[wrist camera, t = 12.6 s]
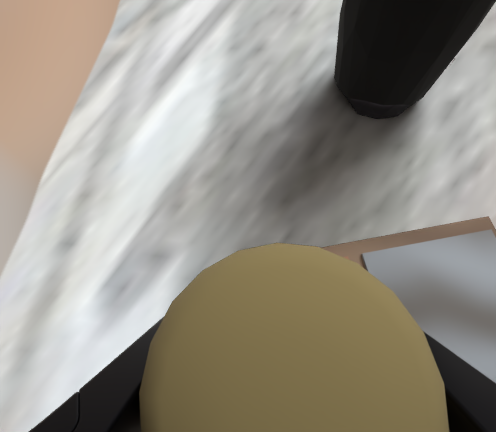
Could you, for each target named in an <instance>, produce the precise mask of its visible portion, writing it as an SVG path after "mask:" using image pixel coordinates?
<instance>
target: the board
mask: <svg viewBox="0 0 496 432" xmlns="http://www.w3.org/2000/svg"><path fill="white" fill-rule="evenodd" d="M322 249H324V250H327V251H329V252H331V253H334V254H336V255H339V256H341V257H344V258H346V259H349V260H351V261H353V262H356V263H358V264H359V265H360V266H362V267H363V268H364V269H365V270H367V271H368V272H369V273H370V274H372V275H373V276H374V277H376V278H377V279H378V280H379V281H381V282H382V283H383V284H384V285H386V286H387V287H388V288H390V289H391V290H392V291H393V292H394V293H395V294H396V296H397V297H398V298H399V300H400V301H401V302H402V304H403V305H404V306H405V308H406V309H407V310H408V312H409V313H410V314H411V316H412V317H413V318H414V320H415V321H416V323H417V324H418V325H419V327H420V328H421V329H422V330H423V331H424V332H426V333H427V334H428V335H430V336H431V337H432V338H434V339H435V340H437V341H438V342H439V343H441V344H442V345H444V346H445V347H446V348H448V349H449V350H451V351H452V352H453V353H455V354H456V355H457V356H459V357H460V358H462V359H463V360H464V361H466V362H467V363H469V364H470V365H471V366H473V367H474V368H476V369H477V370H478V371H480V372H481V373H482V374H484V375H485V376H487V377H488V378H489V379H491V380H492V381H494V382H495V383H496V229H495V228H494V226H493V224H492V222H491V220H490V218H489V216H488V217H482V218H477V219H472V220H466V221H461V222H456V223H450V224H445V225H439V226H434V227H429V228H423V229H418V230H413V231H407V232H402V233H397V234H391V235H386V236H381V237H375V238H370V239H365V240H359V241H354V242H348V243H343V244H338V245H332V246H327V247H322Z"/></svg>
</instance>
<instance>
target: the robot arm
mask: <svg viewBox="0 0 496 432" xmlns="http://www.w3.org/2000/svg"><path fill="white" fill-rule="evenodd" d="M163 318H164V317H163ZM163 318H162V319H161V320H159V321H158V322H157V323H156V324H155V325H154V326H153V327H151V328H150V329H149V330H148V331H147V332H146V333H144V334H143V335H142V336H141V337H140V338H139V339H137V340H136V341H135V342H134V343H133V344H132V345H131V346H129V347H128V348H127V349H126V350H125V351H124V352H122V353H121V354H120V355H119V356H118V357H117V358H115V359H114V360H113V361H112V362H111V363H110V364H109V365H107V366H106V367H105V368H104V369H103V370H102V371H100V372H99V373H98V374H97V375H96V376H95V377H93V378H92V379H91V380H90V381H89V382H88V383H86V384H85V385H84V386H83V387H82V388H81V389H80V390H79V392H76V393H75V394H74V395H72V396H71V397H70V398H69V399H68V400H67V401H65V402H64V403H63V404H62V405H61V406H60V407H58V408H57V409H56V410H55V411H54V412H52V413H51V414H50V415H49V416H48V417H46V418H45V419H44V420H43V421H42V422H40V423H39V424H38V425H37V426H35V427H34V428H33V429H31V430H30V431H29V432H141V421H140V398H139V391H140V387H141V383H142V378H143V374H144V369H145V365H146V360H147V356H148V352H149V347H150V343H151V341H152V339H153V337H154V335H155V333H156V331H157V330H158V328H159V326H160V324H161V322H162V320H163ZM422 331H423V330H422ZM423 332H424V331H423ZM424 334H425V337H426V339H427V342H428V344H429V347H430V349H431V352H432V354H433V357H434V359H435V362H436V364H437V367H438V369H439V372H440V374H441V377H442V380H443V382H444V387H445V396H446V406H447V415H448V424H449V432H496V383H495V382H494V381H492V380H491V379H489V378H488V377H487V376H485V375H484V374H482V373H481V372H480V371H478V370H477V369H476V368H474V367H473V366H471V365H470V364H469V363H467V362H466V361H464V360H463V359H462V358H460V357H459V356H457V355H456V354H455V353H453V352H452V351H451V350H449V349H448V348H446V347H445V346H444V345H442V344H441V343H439V342H438V341H437V340H435V339H434V338H432V337H431V336H430V335H428V334H427V333H426V332H424Z"/></svg>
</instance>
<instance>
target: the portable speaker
mask: <svg viewBox="0 0 496 432" xmlns="http://www.w3.org/2000/svg"><path fill="white" fill-rule="evenodd" d="M495 2H496V0H343V3H342V7H341V12H340V20H339V31H338V42H337V53H336V64H335V75H334V78H335V81H336V83H337V86H338V88H339V89H340V90H341V91H342V92H343V93H344V95H345V96H346V97H347V99H348V100H349V102H350V103H351V105H352V106H353V108H354V109H355V111H356V112H357V114H360V115H364V116H368V117H372V118H377V119H380V118H387V117H395V116H398V115H399V114H401V113H402V112H403V111H404V110H406V109H407V108H408V107H410V106H411V105H413V104H414V103H416V102H417V101H418V100H420V99H421V98H423V97H424V95H425V94H426V93H427V92H428V90H429V89H430V88H431V87H432V85H433V84H434V83H435V81H436V80H437V79H438V78H439V76H440V75H441V74H442V73H443V71H444V70H445V69H446V67H447V66H448V65H449V64H450V62H451V61H452V60H453V59H454V57H455V56H456V55H457V53H458V52H459V51H460V50H461V48H462V47H463V46H464V45H465V43H466V42H467V41H468V39H469V38H470V37H471V36H472V34H473V33H474V32H475V31H476V29H477V28H478V27H479V25H480V24H481V22H482V21H483V19H484V18H485V16H486V15H487V13H488V12H489V10H490V9H491V7H492V6H493V5H494V3H495ZM454 60H455V59H454ZM454 60H453V61H454ZM450 65H451V64H450Z"/></svg>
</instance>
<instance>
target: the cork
mask: <svg viewBox="0 0 496 432" xmlns="http://www.w3.org/2000/svg"><path fill="white" fill-rule="evenodd" d="M139 398H140V421H141V432H449V424H448V415H447V406H446V396H445V387H444V382H443V380H442V377H441V374H440V372H439V369H438V367H437V364H436V362H435V359H434V357H433V354H432V352H431V349H430V347H429V344H428V342H427V339H426V337H425V334H424V332H423V331H422V329H421V328H420V327H419V325H418V324H417V323H416V321H415V320H414V318H413V317H412V316H411V314H410V313H409V312H408V310H407V309H406V308H405V306H404V305H403V304H402V302H401V301H400V300H399V298H398V297H397V296H396V294H395V293H394V292H393V291H392V290H391V289H390V288H388V287H387V286H386V285H384V284H383V283H382V282H381V281H379V280H378V279H377V278H376V277H374V276H373V275H372V274H370V273H369V272H368V271H367V270H365V269H364V268H363V267H362V266H360V265H359V264H358V263H356V262H353V261H351V260H349V259H346V258H344V257H341V256H339V255H336V254H334V253H331V252H329V251H327V250H324V249H322V248H319V247H315V246H305V245H294V244H284V243H274V244H269V245H264V246H259V247H254V248H249V249H245V250H240V251H237V252H235V253H233V254H232V255H230V256H228V257H226V258H224V259H222V260H221V261H219V262H217V263H215V264H213V265H212V266H210V267H208V268H206V269H204V270H203V271H202V272H201V273H200V274H199V275H198V276H197V277H196V278H195V279H194V280H193V281H192V282H191V283H190V284H189V285H188V286H187V287H186V288H185V289H184V290H183V291H182V292H181V293H180V294H179V295H178V296H177V297H176V298H175V299H174V300H173V301H172V303H171V305H170V307H169V309H168V311H167V313H166V315H165V316H164V318H163V320H162V322H161V324H160V326H159V328H158V330H157V331H156V333H155V335H154V337H153V339H152V341H151V343H150V347H149V352H148V356H147V360H146V365H145V369H144V374H143V378H142V383H141V387H140V391H139Z"/></svg>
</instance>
